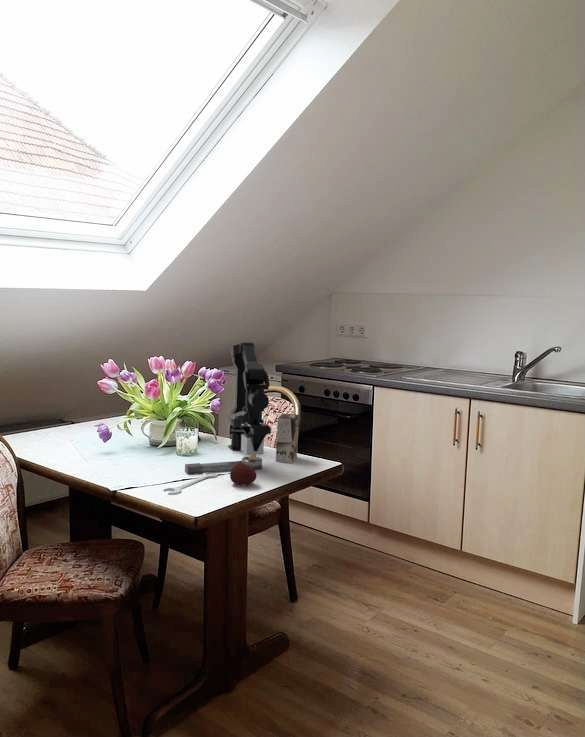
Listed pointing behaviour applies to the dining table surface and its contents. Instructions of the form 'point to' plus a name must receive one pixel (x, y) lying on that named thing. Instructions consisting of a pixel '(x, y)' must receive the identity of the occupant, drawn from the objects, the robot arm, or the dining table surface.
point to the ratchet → (223, 465)
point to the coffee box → (287, 438)
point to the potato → (242, 474)
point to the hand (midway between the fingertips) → (252, 448)
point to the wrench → (189, 483)
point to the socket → (250, 445)
